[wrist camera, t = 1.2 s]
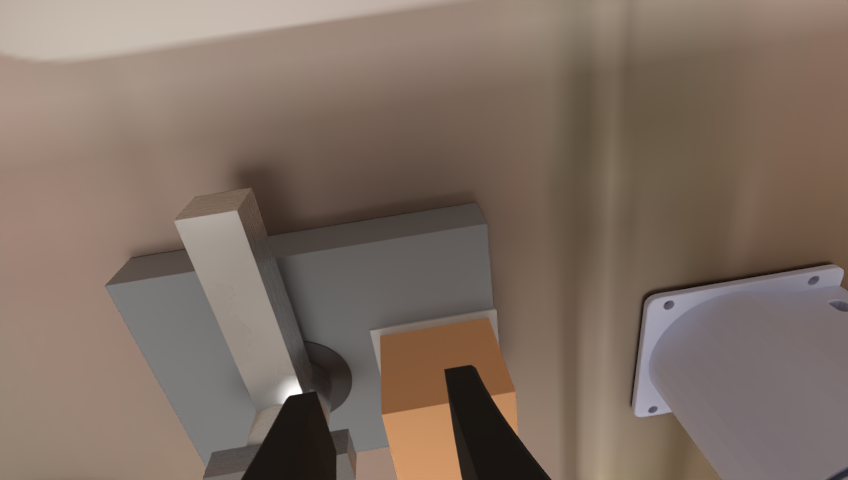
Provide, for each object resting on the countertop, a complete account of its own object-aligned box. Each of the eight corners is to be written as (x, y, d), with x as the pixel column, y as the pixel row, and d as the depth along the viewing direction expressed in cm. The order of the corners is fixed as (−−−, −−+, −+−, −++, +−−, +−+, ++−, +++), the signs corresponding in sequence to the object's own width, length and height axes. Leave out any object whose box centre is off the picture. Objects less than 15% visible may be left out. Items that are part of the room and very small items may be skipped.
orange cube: (488, 317, 19) (515, 391, 15) (494, 395, 21) (519, 476, 17) (379, 336, 19) (381, 414, 15) (397, 412, 21) (402, 497, 17)
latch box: (478, 202, 19) (490, 224, 17) (494, 394, 24) (504, 427, 22) (130, 258, 18) (103, 287, 16) (223, 441, 23) (210, 479, 22)
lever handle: (300, 175, 15) (276, 233, 11) (362, 400, 20) (359, 491, 16) (153, 199, 15) (80, 265, 11) (252, 419, 20) (224, 515, 16)
